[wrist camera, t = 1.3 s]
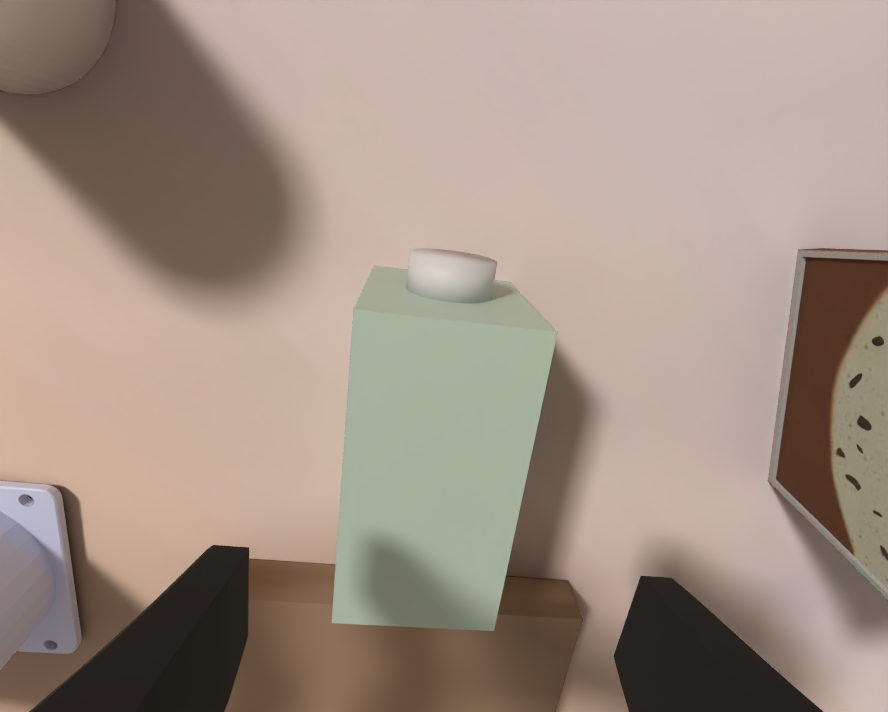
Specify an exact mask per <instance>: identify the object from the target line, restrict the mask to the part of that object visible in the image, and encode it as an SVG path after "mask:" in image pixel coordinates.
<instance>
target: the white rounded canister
mask: <svg viewBox="0 0 888 712" xmlns="http://www.w3.org/2000/svg"><path fill="white" fill-rule="evenodd" d="M115 12H116V0H0V90H2V91H6V92H11V93H18V94H43V93H48V92H53V91H57V90H59V89H62V88H65V87H67V86H69V85H71V84H73V83H74V82H76V81H78V80H79V79H81V78H82V77H83V76H84V75H85V74H87V73H88V72H89V71H90V70H91V69H92V67H93V66H94V65H95V64H96V63H97V62H98V60H99V59H100V57H101V55H102V54H103V52H104V50H105V48H106V46H107V44H108V41H109V39H110V36H111V33H112V29H113V25H114V20H115Z"/></svg>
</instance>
